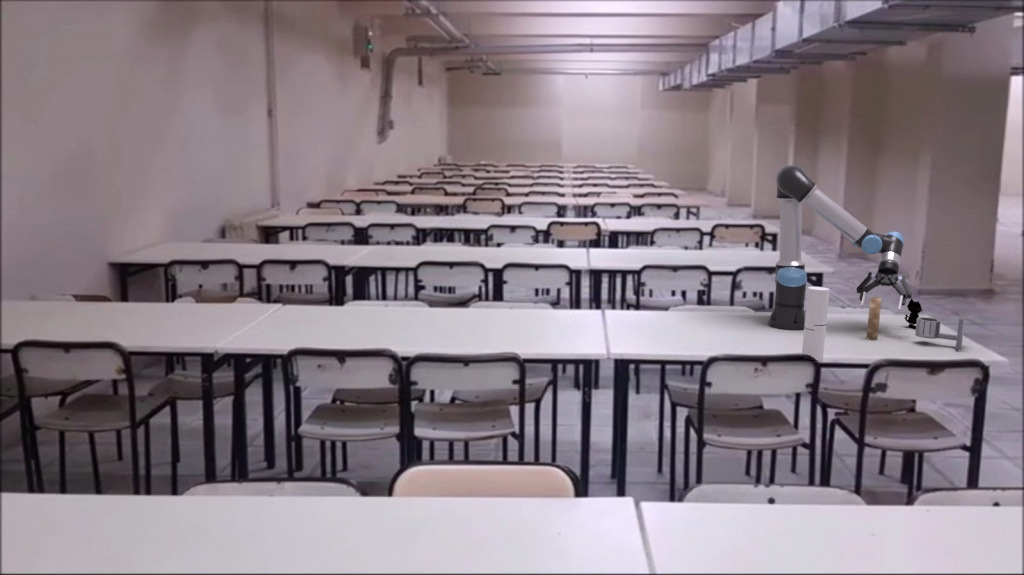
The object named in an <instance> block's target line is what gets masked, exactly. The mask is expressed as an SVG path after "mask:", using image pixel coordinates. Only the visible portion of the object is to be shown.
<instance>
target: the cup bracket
mask: <svg viewBox="0 0 1024 575" xmlns="http://www.w3.org/2000/svg"><path fill="white" fill-rule="evenodd" d="M966 315H967V314H966V313H965V314H964V313H960V316H959V319H958V325H957V334H950V333H944V332H942V333H941V332H940V331H941V323H942V321H941V319H938V318H935V317H926V316H924V317H923V316H919V317H918V318H917V322H916V324H915V326H916V329H915V336H916V337H918V338H922V339H930V340H931V339H933V340H935V339H941V340H948V341H949V340H950V341H956V342H955V349H954V350H960V351H961V348H962V347H961V346H963V339H964V331H965V322H966Z"/></svg>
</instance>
